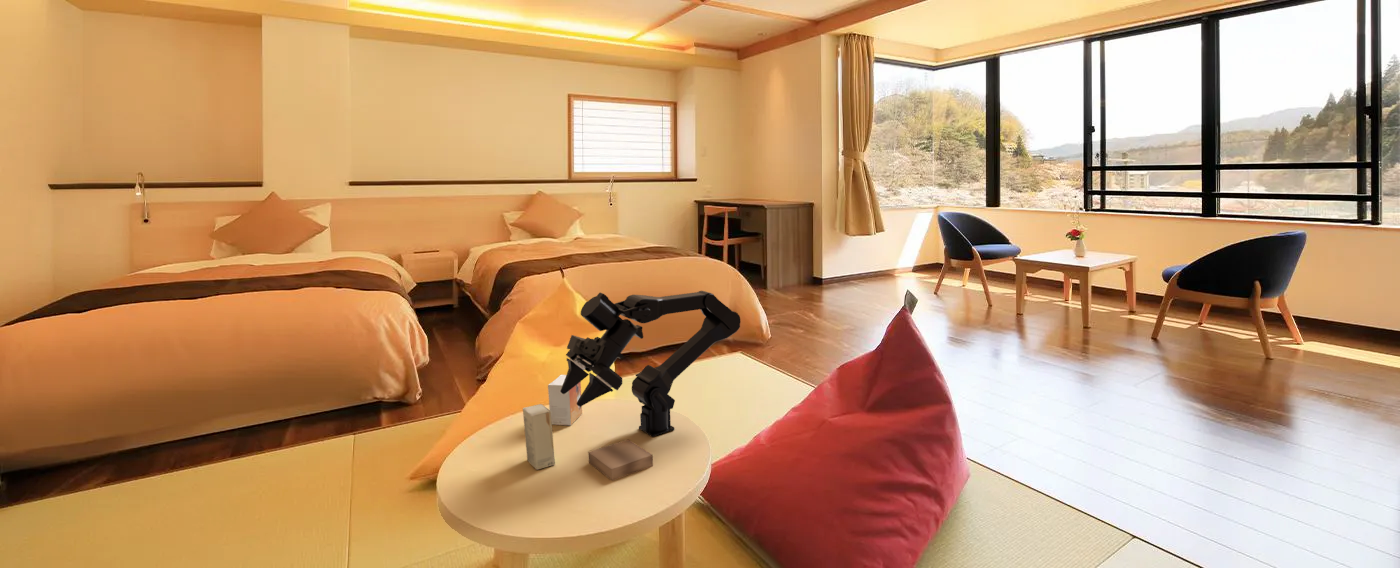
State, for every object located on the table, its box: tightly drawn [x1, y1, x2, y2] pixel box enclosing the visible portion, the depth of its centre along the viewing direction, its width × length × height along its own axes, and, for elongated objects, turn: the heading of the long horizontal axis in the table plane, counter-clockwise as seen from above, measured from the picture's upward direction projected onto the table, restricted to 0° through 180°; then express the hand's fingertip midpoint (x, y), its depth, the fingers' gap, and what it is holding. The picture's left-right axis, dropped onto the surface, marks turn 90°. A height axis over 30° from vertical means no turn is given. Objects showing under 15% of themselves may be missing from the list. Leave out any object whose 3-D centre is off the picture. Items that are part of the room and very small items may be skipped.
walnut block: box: [587, 439, 654, 481], centre depth 137 cm, size 10×10×3 cm
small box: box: [547, 374, 583, 426], centre depth 160 cm, size 8×6×10 cm
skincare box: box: [522, 403, 556, 470], centre depth 137 cm, size 6×4×12 cm
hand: (569, 399), depth 140 cm, fingers open, 9 cm apart
